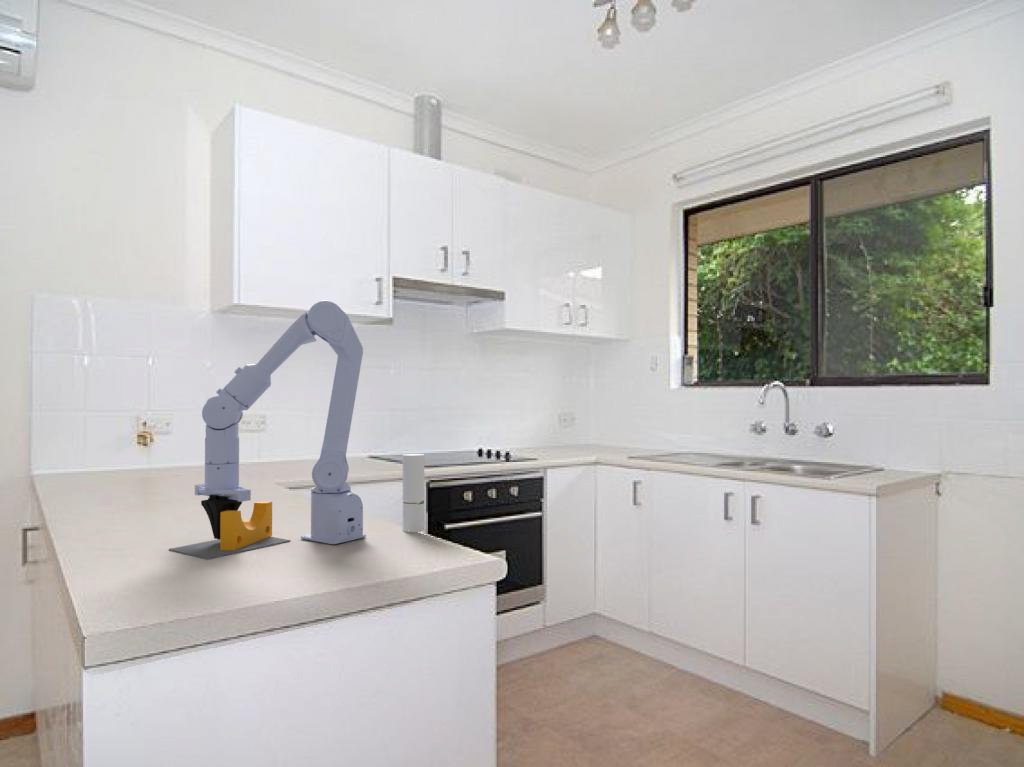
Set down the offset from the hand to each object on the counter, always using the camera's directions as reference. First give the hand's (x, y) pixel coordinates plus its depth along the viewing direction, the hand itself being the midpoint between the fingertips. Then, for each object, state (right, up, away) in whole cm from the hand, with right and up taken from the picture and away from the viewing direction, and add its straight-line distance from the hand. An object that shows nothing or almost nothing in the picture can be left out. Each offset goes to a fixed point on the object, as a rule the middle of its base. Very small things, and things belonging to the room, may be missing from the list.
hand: (221, 538), depth 117 cm
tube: (+33, -1, +11) cm, 35 cm away
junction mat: (+2, -1, -2) cm, 3 cm away
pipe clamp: (+4, -1, 0) cm, 4 cm away
